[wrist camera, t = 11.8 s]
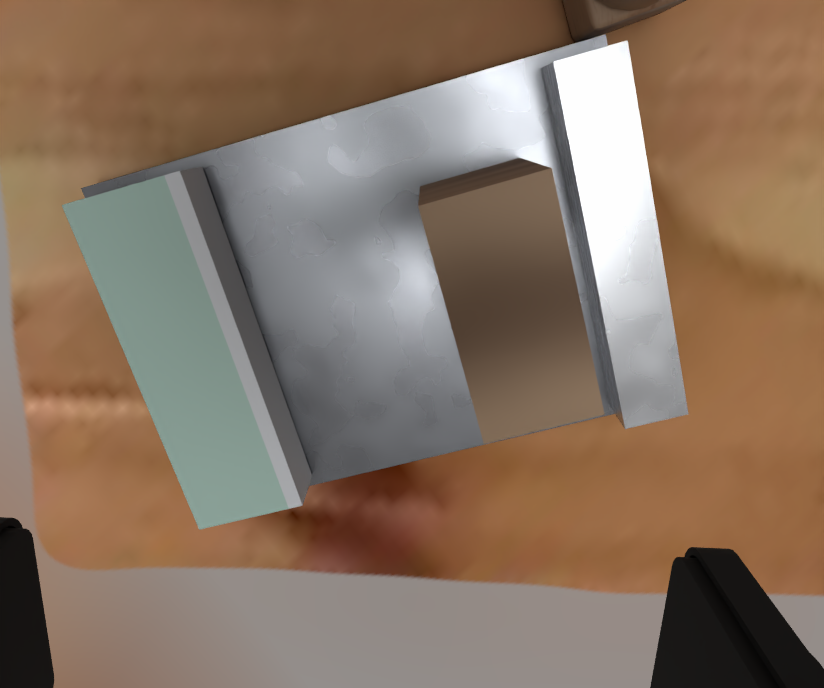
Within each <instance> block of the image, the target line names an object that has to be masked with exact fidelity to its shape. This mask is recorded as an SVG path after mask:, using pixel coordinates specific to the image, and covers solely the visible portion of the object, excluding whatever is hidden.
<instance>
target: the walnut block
mask: <svg viewBox="0 0 824 688" xmlns="http://www.w3.org/2000/svg"><path fill="white" fill-rule="evenodd" d="M418 208H419V211H420V215H421V219H422V222H423V226H424V229H425V233H426V237H427V240H428V244H429V248H430V251H431V255H432V258H433V262H434V266H435V269H436V273H437V276H438V280H439V284H440V287H441V291H442V294H443V298H444V302H445V305H446V309H447V313H448V316H449V320H450V323H451V327H452V331H453V334H454V338H455V341H456V345H457V349H458V352H459V356H460V360H461V363H462V367H463V370H464V374H465V378H466V381H467V385H468V388H469V392H470V396H471V399H472V403H473V406H474V410H475V414H476V417H477V421H478V425H479V428H480V432H481V435H482V439H483V443H484V444H486V443H490V442H494V441H498V440H503V439H507V438H511V437H515V436H519V435H523V434H527V433H531V432H535V431H539V430H543V429H547V428H551V427H556V426H560V425H564V424H568V423H572V422H576V421H580V420H584V419H588V418H592V417H596V416H600V415H605V414H604V409H603V405H602V400H601V395H600V391H599V386H598V381H597V377H596V372H595V367H594V363H593V358H592V353H591V349H590V344H589V339H588V335H587V330H586V325H585V321H584V316H583V311H582V307H581V302H580V297H579V293H578V288H577V283H576V279H575V274H574V269H573V265H572V260H571V255H570V251H569V246H568V241H567V237H566V232H565V227H564V223H563V218H562V213H561V209H560V204H559V199H558V195H557V190H556V185H555V181H554V176H553V171H552V168H550V167H547V166H544V165H541V164H538V163H535V162H532V161H529V160H526V159H523V158H517V159H513V160H510V161H506V162H503V163H499V164H496V165H492V166H489V167H486V168H482V169H479V170H475V171H472V172H468V173H465V174H461V175H458V176H454V177H451V178H447V179H444V180H440V181H437V182H434V183H430V184H427V185H423V186H420V193H419V202H418Z"/></svg>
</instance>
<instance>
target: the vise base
mask: <svg viewBox="0 0 824 688" xmlns="http://www.w3.org/2000/svg"><path fill="white" fill-rule="evenodd" d="M517 158H523V159H526V160H529V161H532V162H535V163H538V164H541V165H544V166H547V167H550V168H552V171H553V176H554V181H555V185H556V190H557V195H558V199H559V204H560V209H561V213H562V218H563V223H564V227H565V232H566V237H567V241H568V246H569V251H570V255H571V260H572V265H573V269H574V274H575V279H576V283H577V288H578V293H579V297H580V302H581V307H582V311H583V316H584V321H585V325H586V330H587V335H588V339H589V344H590V349H591V353H592V358H593V363H594V367H595V372H596V377H597V381H598V386H599V391H600V395H601V400H602V405H603V409H604V414H605V415H600V416H596V417H592V418H588V419H584V420H580V421H576V422H572V423H568V424H564V425H560V426H565V425H569V424H573V423H577V422H582V421H586V420H590V419H594V418H598V417H603V416H607V415H611V414H616V416H617V417H618V419H619V420H620V422H621V423H622V425H623V427H624V428H625V429H627V428H631V427H636V426H640V425H644V424H648V423H653V422H657V421H661V420H665V419H670V418H674V417H678V416H683V415H687V414H688V409H687V403H686V397H685V390H684V384H683V378H682V372H681V366H680V360H679V354H678V347H677V341H676V335H675V329H674V323H673V317H672V311H671V304H670V298H669V292H668V286H667V280H666V274H665V268H664V262H663V255H662V249H661V243H660V237H659V231H658V225H657V219H656V212H655V206H654V200H653V194H652V188H651V182H650V176H649V169H648V163H647V157H646V151H645V145H644V139H643V133H642V126H641V120H640V114H639V108H638V102H637V96H636V90H635V84H634V77H633V71H632V65H631V59H630V53H629V47H628V41H623V42H620V43H616V44H613V45H610V46H608V45H607V39H606V34H605V35H602V36H598V37H595V38H592V39H588V40H585V41H581V42H578V43H575V44H571V45H568V46H564V47H561V48H558V49H554V50H551V51H547V52H544V53H540V54H537V55H534V56H530V57H527V58H523V59H520V60H517V61H513V62H510V63H506V64H503V65H500V66H496V67H493V68H489V69H486V70H483V71H479V72H476V73H472V74H469V75H466V76H462V77H459V78H455V79H452V80H449V81H445V82H442V83H438V84H435V85H431V86H428V87H425V88H421V89H418V90H414V91H411V92H408V93H404V94H401V95H397V96H394V97H391V98H387V99H384V100H380V101H377V102H374V103H370V104H367V105H363V106H360V107H357V108H353V109H350V110H346V111H343V112H340V113H336V114H333V115H329V116H326V117H322V118H319V119H316V120H312V121H309V122H305V123H302V124H299V125H295V126H292V127H288V128H285V129H282V130H278V131H275V132H271V133H268V134H265V135H261V136H258V137H254V138H251V139H248V140H244V141H241V142H237V143H234V144H231V145H227V146H224V147H220V148H217V149H213V150H210V151H207V152H203V153H200V154H196V155H193V156H190V157H186V158H183V159H179V160H176V161H173V162H169V163H166V164H162V165H159V166H156V167H152V168H149V169H145V170H142V171H139V172H135V173H132V174H128V175H125V176H122V177H118V178H115V179H111V180H108V181H104V182H101V183H98V184H94V185H91V186H87V187H84V188H81V189H82V192H83V194H84V196H85V198H88V197H92V196H95V195H98V194H102V193H105V192H109V191H112V190H116V189H119V188H122V187H126V186H129V185H133V184H136V183H140V182H143V181H146V180H150V179H153V178H157V177H160V176H164V175H167V174H170V173H174V172H177V171H181V170H187V169H193V168H198V167H202V168H203V171H204V173H205V176H206V179H207V182H208V185H209V187H210V190H211V193H212V196H213V199H214V201H215V204H216V207H217V210H218V213H219V216H220V218H221V221H222V224H223V227H224V230H225V232H226V235H227V238H228V241H229V244H230V246H231V249H232V252H233V255H234V258H235V260H236V263H237V266H238V269H239V272H240V274H241V277H242V280H243V283H244V286H245V289H246V291H247V294H248V297H249V300H250V303H251V305H252V308H253V311H254V314H255V317H256V319H257V322H258V325H259V328H260V331H261V333H262V336H263V339H264V342H265V345H266V347H267V350H268V353H269V356H270V359H271V361H272V364H273V367H274V370H275V373H276V376H277V378H278V381H279V384H280V387H281V390H282V392H283V395H284V398H285V401H286V404H287V406H288V409H289V412H290V415H291V418H292V420H293V423H294V426H295V429H296V432H297V434H298V437H299V440H300V443H301V446H302V449H303V451H304V454H305V457H306V460H307V463H308V465H309V468H310V471H311V474H312V478H311V481H310V484H309V486H311V485H315V484H319V483H323V482H328V481H332V480H336V479H340V478H345V477H349V476H353V475H357V474H362V473H366V472H370V471H374V470H378V469H383V468H387V467H391V466H395V465H400V464H404V463H408V462H412V461H417V460H421V459H425V458H429V457H433V456H438V455H442V454H446V453H450V452H455V451H459V450H463V449H467V448H472V447H476V446H480V445H484V443H483V439H482V435H481V432H480V428H479V425H478V421H477V417H476V414H475V410H474V406H473V403H472V399H471V396H470V392H469V388H468V385H467V381H466V378H465V374H464V370H463V367H462V363H461V360H460V356H459V352H458V349H457V345H456V341H455V338H454V334H453V331H452V327H451V323H450V320H449V316H448V313H447V309H446V305H445V302H444V298H443V294H442V291H441V287H440V284H439V280H438V276H437V273H436V269H435V266H434V262H433V258H432V255H431V251H430V248H429V244H428V240H427V237H426V233H425V229H424V226H423V222H422V219H421V215H420V211H419V208H418V202H419V193H420V186H423V185H427V184H430V183H434V182H437V181H440V180H444V179H447V178H451V177H454V176H458V175H461V174H465V173H468V172H472V171H475V170H479V169H482V168H486V167H489V166H492V165H496V164H499V163H503V162H506V161H510V160H513V159H517ZM560 426H556V427H560ZM556 427H551V428H547V429H543V430H548V429H552V428H556ZM543 430H539V431H543ZM539 431H535V432H539ZM535 432H531V433H535ZM531 433H527V434H531ZM527 434H523V435H527ZM519 436H522V435H519ZM515 437H518V436H515ZM511 438H514V437H511ZM507 439H510V438H507ZM503 440H505V439H503ZM498 441H501V440H498ZM494 442H497V441H494ZM490 443H493V442H490ZM486 444H488V443H486Z"/></svg>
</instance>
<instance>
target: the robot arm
mask: <svg viewBox="0 0 824 688" xmlns="http://www.w3.org/2000/svg"><path fill="white" fill-rule="evenodd" d="M53 685H54V673H53V666H52V659H51V653H50V646H49V640H48V633H47V627H46V620H45V614H44V608H43V601H42V595H41V588H40V582H39V575H38V569H37V562H36V556H35V549H34V543H33V537H32V534H31V533H30V531H29V530H27V529H23V528H22V525H21V523H20V522H19V521H18V520H17V519H15V518H2V517H0V688H53ZM650 688H824V669H823V667H822V666H821V664H820V663H819V662H818V661H817V660H816V659H815V658H814V657H813V656H812V655H811V653H809V651H808V650H807V649H806V647H805V646H804V645H803V643H802V642H801V641H800V639H799V638H798V636H797V635H796V634H795V632H794V631H793V630H792V628H791V627H790V626H789V624H788V623H787V622H786V620H785V619H784V617H783V616H782V615H781V613H780V612H779V611H778V609H777V608H776V607H775V605H774V604H773V603H772V601H771V600H770V599H769V597H768V596H767V594H766V593H765V592H764V590H763V589H762V588H761V586H760V585H759V583H758V582H757V581H756V579H755V578H754V577H753V575H752V574H751V573H750V571H749V570H748V568H747V567H746V566H745V564H744V563H743V562H742V560H741V559H740V558H739V556H738V555H737V554H736V553H735V552H734V551H733V550H731V549H720V548H697V547H691V548H689V549H688V550H687V552H686V553H685V557H677V558H675V560H674V561H673V565H672V570H671V575H670V581H669V586H668V592H667V598H666V603H665V609H664V615H663V620H662V626H661V631H660V637H659V642H658V648H657V653H656V659H655V665H654V670H653V676H652V682H651V687H650Z"/></svg>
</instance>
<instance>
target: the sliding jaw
mask: <svg viewBox="0 0 824 688" xmlns="http://www.w3.org/2000/svg"><path fill="white" fill-rule="evenodd" d="M62 207H63V209H64V212H65V214H66V216H67V219H68V221H69V223H70V226H71V228H72V230H73V233H74V235H75V238H76V240H77V242H78V245H79V247H80V249H81V252H82V254H83V256H84V259H85V261H86V263H87V266H88V268H89V271H90V273H91V275H92V278H93V280H94V282H95V285H96V287H97V289H98V292H99V294H100V296H101V299H102V301H103V304H104V306H105V308H106V311H107V313H108V315H109V318H110V320H111V322H112V325H113V327H114V329H115V332H116V334H117V337H118V339H119V341H120V344H121V346H122V348H123V351H124V353H125V355H126V358H127V360H128V362H129V365H130V367H131V370H132V372H133V374H134V377H135V379H136V381H137V384H138V386H139V388H140V391H141V393H142V396H143V398H144V400H145V403H146V405H147V407H148V410H149V412H150V414H151V417H152V419H153V421H154V424H155V426H156V429H157V431H158V433H159V436H160V438H161V440H162V443H163V445H164V447H165V450H166V452H167V454H168V457H169V459H170V462H171V464H172V466H173V469H174V471H175V473H176V476H177V478H178V480H179V483H180V485H181V487H182V490H183V492H184V495H185V497H186V499H187V502H188V504H189V506H190V509H191V511H192V513H193V516H194V518H195V520H196V523H197V525H198V528H199V530H200V529H204V528H208V527H213V526H217V525H221V524H225V523H230V522H234V521H238V520H243V519H247V518H251V517H255V516H260V515H264V514H268V513H273V512H277V511H281V510H285V509H290V508H294V507H298V506H302V505H303V502H304V499H305V496H306V493H307V490H308V487H309V484H310V481H311V478H312V474H311V471H310V468H309V465H308V463H307V460H306V457H305V454H304V451H303V449H302V446H301V443H300V440H299V437H298V434H297V432H296V429H295V426H294V423H293V420H292V418H291V415H290V412H289V409H288V406H287V404H286V401H285V398H284V395H283V392H282V390H281V387H280V384H279V381H278V378H277V376H276V373H275V370H274V367H273V364H272V361H271V359H270V356H269V353H268V350H267V347H266V345H265V342H264V339H263V336H262V333H261V331H260V328H259V325H258V322H257V319H256V317H255V314H254V311H253V308H252V305H251V303H250V300H249V297H248V294H247V291H246V289H245V286H244V283H243V280H242V277H241V274H240V272H239V269H238V266H237V263H236V260H235V258H234V255H233V252H232V249H231V246H230V244H229V241H228V238H227V235H226V232H225V230H224V227H223V224H222V221H221V218H220V216H219V213H218V210H217V207H216V204H215V201H214V199H213V196H212V193H211V190H210V187H209V185H208V182H207V179H206V176H205V173H204V171H203V168H202V167H198V168H193V169H187V170H181V171H177V172H174V173H170V174H167V175H164V176H160V177H157V178H153V179H150V180H146V181H143V182H140V183H136V184H133V185H129V186H126V187H122V188H119V189H116V190H112V191H109V192H105V193H102V194H98V195H95V196H92V197H88V198H85V199H81V200H78V201H74V202H71V203H68V204H64V205H62Z"/></svg>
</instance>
